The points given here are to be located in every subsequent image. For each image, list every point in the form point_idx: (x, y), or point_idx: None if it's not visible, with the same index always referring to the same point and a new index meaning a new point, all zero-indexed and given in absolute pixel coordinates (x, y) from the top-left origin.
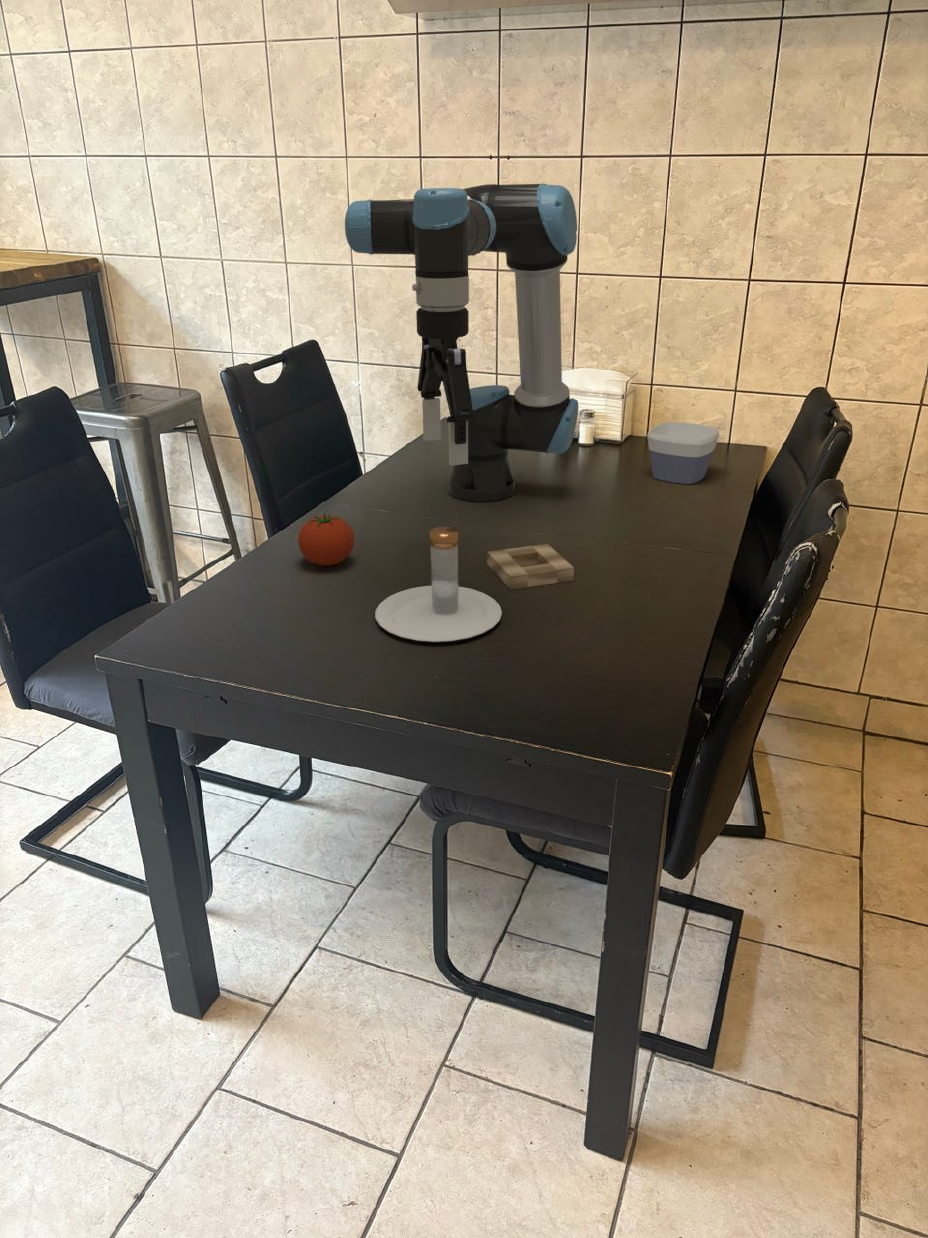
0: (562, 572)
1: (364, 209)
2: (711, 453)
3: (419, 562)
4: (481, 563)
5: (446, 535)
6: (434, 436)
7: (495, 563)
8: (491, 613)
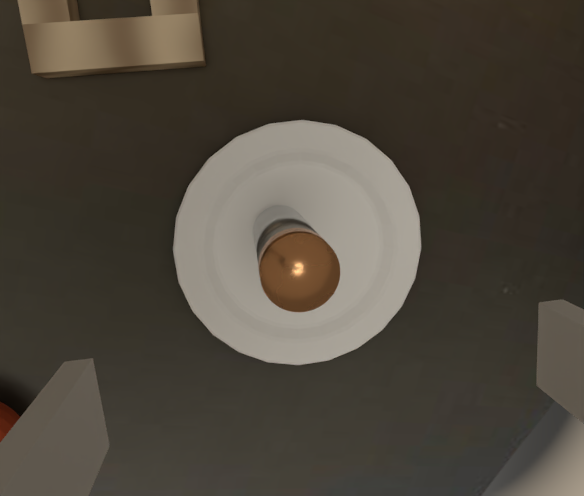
0: None
1: None
2: None
3: (10, 236)
4: (38, 91)
5: (329, 271)
6: (94, 404)
7: (97, 70)
8: (339, 148)
